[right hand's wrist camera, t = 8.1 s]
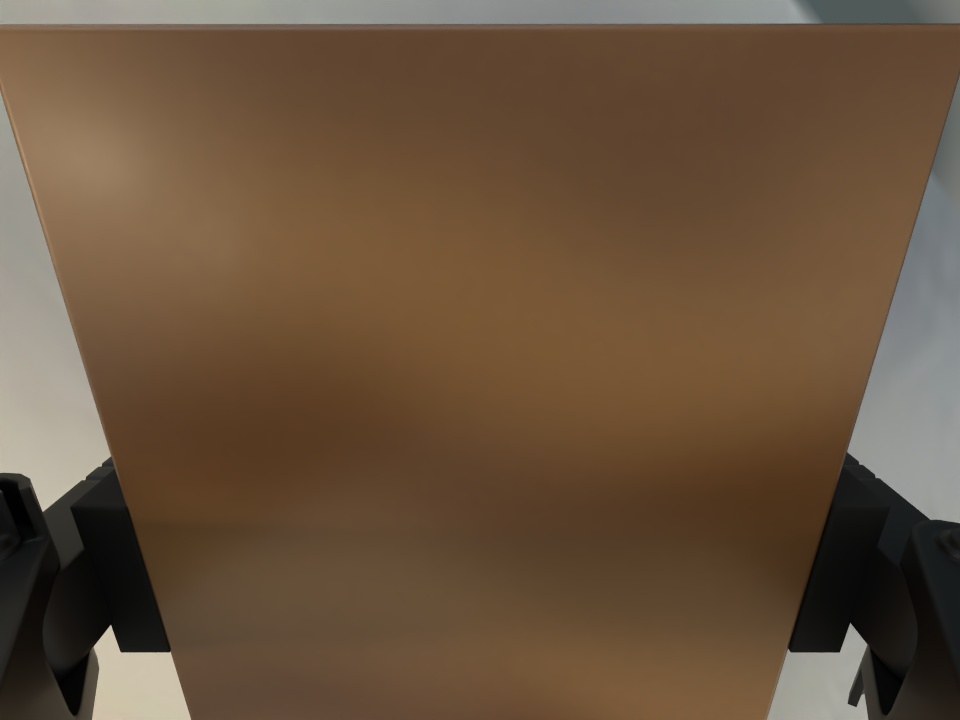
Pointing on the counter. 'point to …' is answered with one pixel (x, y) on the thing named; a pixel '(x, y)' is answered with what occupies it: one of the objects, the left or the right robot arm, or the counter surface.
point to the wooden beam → (478, 341)
